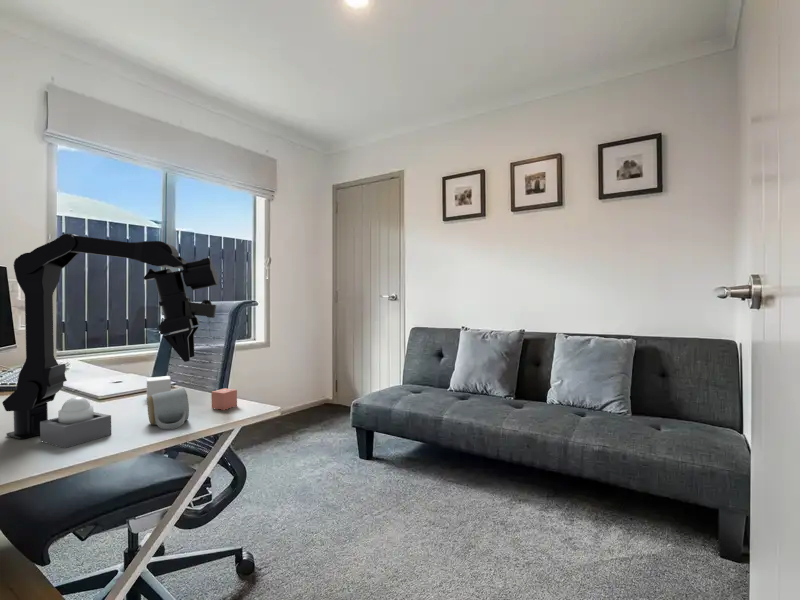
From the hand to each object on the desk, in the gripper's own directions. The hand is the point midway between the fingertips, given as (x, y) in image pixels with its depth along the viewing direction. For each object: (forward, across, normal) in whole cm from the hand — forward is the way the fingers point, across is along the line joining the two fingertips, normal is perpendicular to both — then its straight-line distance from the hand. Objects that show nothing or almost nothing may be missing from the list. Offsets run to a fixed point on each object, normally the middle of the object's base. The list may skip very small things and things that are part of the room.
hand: (189, 359), depth 102 cm
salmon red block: (+16, +13, -4) cm, 21 cm away
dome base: (+10, -3, +25) cm, 27 cm away
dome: (+6, -3, +24) cm, 25 cm away
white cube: (+12, +31, +15) cm, 36 cm away
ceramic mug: (+14, +2, +8) cm, 16 cm away
